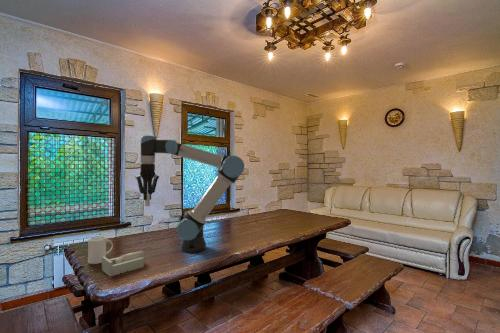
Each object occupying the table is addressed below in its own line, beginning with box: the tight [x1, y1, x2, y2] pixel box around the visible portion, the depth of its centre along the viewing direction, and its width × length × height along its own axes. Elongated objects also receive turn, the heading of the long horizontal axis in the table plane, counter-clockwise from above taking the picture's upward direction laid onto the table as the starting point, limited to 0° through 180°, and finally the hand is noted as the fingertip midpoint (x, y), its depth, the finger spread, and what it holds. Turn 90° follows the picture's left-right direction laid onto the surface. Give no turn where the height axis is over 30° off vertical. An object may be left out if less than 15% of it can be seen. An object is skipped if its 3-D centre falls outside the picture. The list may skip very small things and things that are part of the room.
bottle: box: [112, 250, 146, 265], centre depth 133 cm, size 5×5×14 cm
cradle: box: [101, 256, 145, 278], centre depth 131 cm, size 16×10×6 cm, turn 138°
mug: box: [87, 236, 114, 265], centre depth 140 cm, size 12×8×12 cm
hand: (147, 205), depth 147 cm, fingers closed
